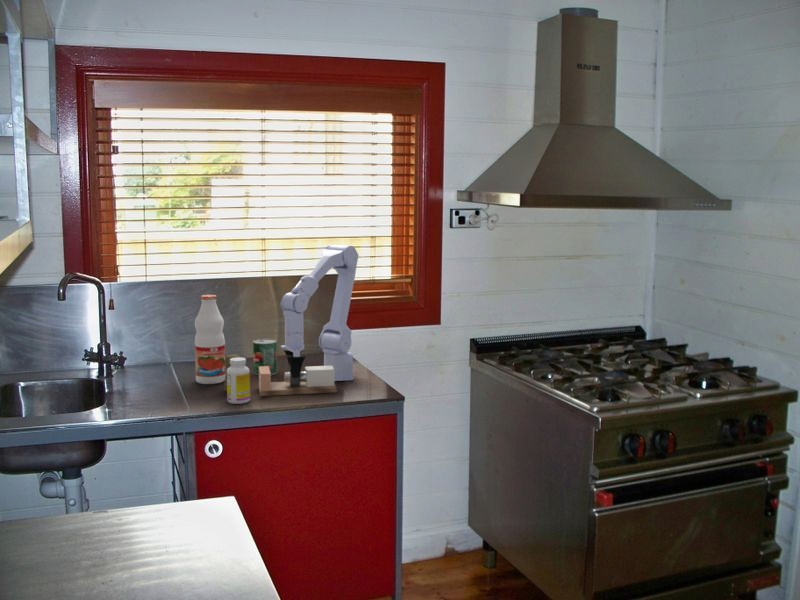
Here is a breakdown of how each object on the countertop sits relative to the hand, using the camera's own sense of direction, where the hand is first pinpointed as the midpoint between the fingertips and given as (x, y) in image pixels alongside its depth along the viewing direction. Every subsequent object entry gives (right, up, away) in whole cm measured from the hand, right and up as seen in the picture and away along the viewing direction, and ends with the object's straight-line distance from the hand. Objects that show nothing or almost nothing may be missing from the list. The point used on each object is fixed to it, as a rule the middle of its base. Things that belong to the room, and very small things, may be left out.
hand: (294, 374), depth 257 cm
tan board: (+1, -5, +1) cm, 5 cm away
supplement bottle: (-15, -7, -13) cm, 21 cm away
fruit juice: (-28, -3, +10) cm, 31 cm away
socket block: (-9, -4, -2) cm, 10 cm away
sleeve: (+8, -3, +2) cm, 9 cm away
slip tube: (+4, -3, +1) cm, 5 cm away
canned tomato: (-13, -2, +22) cm, 26 cm away
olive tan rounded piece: (-19, -5, +1) cm, 20 cm away
